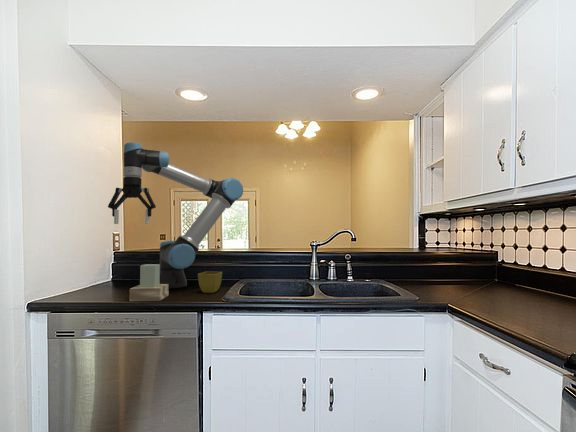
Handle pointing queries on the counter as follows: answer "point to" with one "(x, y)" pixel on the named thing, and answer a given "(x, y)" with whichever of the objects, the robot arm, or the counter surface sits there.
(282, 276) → the counter surface
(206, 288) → the flower pot
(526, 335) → the counter surface
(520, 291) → the counter surface
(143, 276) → the sage block
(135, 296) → the base block
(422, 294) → the counter surface
